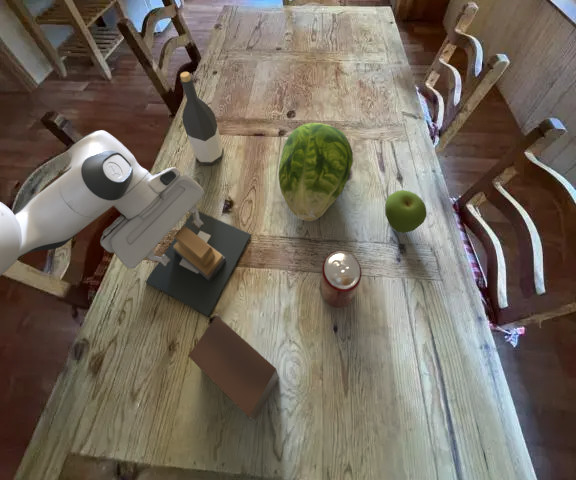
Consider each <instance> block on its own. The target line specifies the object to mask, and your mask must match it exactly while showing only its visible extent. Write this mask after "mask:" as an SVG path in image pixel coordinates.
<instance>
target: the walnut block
mask: <svg viewBox="0 0 576 480" xmlns="http://www.w3.org/2000/svg"><path fill="white" fill-rule="evenodd" d="M187 356H188V358H189V359H190V360H191V361H193V362H194V363H195V365H196V366H197V367H198V368H199V369H200V370H202V372H203V373H204V374H205V375H206V376H207V377H208V378H209V379H210V380H211V381H212V382H213V383H214V384H215V385H216V386H217V388H219V389H220V390H221V391H222V392H223V393H224V394H225V395H226V396H227V397H228V398H229V399H230V400H231V401H232V402H233V403H234V404H235V405H236V406H237V407H238V409H240V410H241V411H242V412H243V413H244V414H245V416H247V417H248V418H249V419H252V420H253V421H256V422H257V420H258V419H259V416H260V414H261V413H262V411H263V409H264V407H265V405H266V403H268V400H269V398H270V396H271V395H272V393H273V391H274V389H275V387H276V386H277V384H278V382H279V380H280V375H279V373H278V369H277V368H276V367H275V365H273V364H272V363H270V361H268V359H266V358H265V357H264V356H263V355H262V354H261V353H260V352H258V351H257V350H256V349H255V348H254V347H253V346H251V345H250V343H248V341H246V340H245V339H244V338H243V337H242V336H240V334H238V333H237V332H236V331H235V330H234V329H233V328H232V327H231V326H229V325H228V324H227V323H226V322H225V321H224V320H223V319H221V318H220V317H219V316H218V315H216V316H215V318H214V319H213V320H212V322H211V323H210V325H209V326H208V327H207V328H206V330H205V331H204V333H203V334H202V336H201V337H200V338H199V339H198V341H197V342H196V344H195V345H194V347H193V348H192V349H191V351H190V352H189V354H188V355H187Z"/></svg>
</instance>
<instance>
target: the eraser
mask: <svg viewBox="0 0 576 480" xmlns="http://www.w3.org/2000/svg"><path fill="white" fill-rule="evenodd" d="M175 238H176V240H177V243H176V244H175V245H174V246H173V247H174V248H173V250H174V251H175V252H176V253H177V254H178V255H179V256H180V257H182V258H183V259H184V260H185V261H186V262H187V263H189V264H190V265H191V266H192V267H193V268H194V269H196V270H197V271H198V272H199V273H200V274H201V275H203V276H204V277H205V278H206V279H207V280H208V281H211V279H212V278H213V277H214V275H215V274H216V273H217V272H218V270H219V269H220V268H221V267H222V265H223V264H224V263H225V261H226V259H225V257H224V256H222V255H221V254H220V253H219V252H217V251H216V250H215V249H214V248H212V247H211V246H210V245H209V244H207V243H206V242H205V241H204V240H202V239H201V238H200V237H199V236H197V235H196V234H195V233H194V232H192V231H191V230H190V229H188V228H187V227H185V226H183V225H182V227H181V228H180V229H179V230H178V231H177V232H176V234H174V239H175Z"/></svg>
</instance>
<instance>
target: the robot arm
mask: <svg viewBox="0 0 576 480" xmlns="http://www.w3.org/2000/svg"><path fill="white" fill-rule="evenodd" d="M67 154H68V156H69V158H70V163H69V166H68V167H67V169H66V171H65V172H64V173H63V174H62V175H61V176H59V177H58V178H57V179H56V180H54V181H53V182H52V183H50V184H49V185H48V186H46V187H45V188H44V189H42V190H41V191H40V192H39V193H37V194H35V195H34V196H32V197H31V198H29V199H28V200H27V201H25V202H24V203H23V204H21V206H20V207H19V208H18V209H17V210H16V211H15V213H14V212H13V211H12V209H10V208H9V207H8V206H7V205H6V204H4V203H3V202H1V201H0V277H1V276H2V275H3V274H5V273H6V272H7V271H8V270H9V269H10V268H11V267H12V266H14V265H15V263H16V262H17V261H18V259H19V258H21V257H23V256H25V255H26V254H30V253H33V252H39V251H40V252H41V251H50V250H55V249H58V248H61V247H63V246H65V245H66V244H67V243H69V242H70V241H71V240H72V239H73V238H75V236H77V235H78V234H79V233H80V232H81V231H82V230H83V229H85V228H87V227H88V225H90V224H91V223H93V222H94V221H95V220H97V219H98V218H99V217H100V216H102V215H103V214H104V213H106V212H107V211H108V210H110V209H111V208H112V207H114V208H115V209H116V210H117V211H118V212H119V213H120V215H119V216H118V217H117V218H116V219H115V220H114V221H113V222H112V223H111V224H110V225H109V226H107V227H106V228H105V229H104V230H103V232H102V235H101V237H100V241H99V243H100V246H101V247H102V248H103V249H104V250H105V251H106V252H107V253H110V254H113V253H114V254H115V256H116V257H117V258H118V260H119V261H120V262H121V263H122V264H123V265H124V267H126V268H127V269H128V270H129V269H130V270H132V269H133V270H134V269H136V268H137V267H138V265H140V264H141V262H142V261H144V259H145V258H146V259H147V260H149V261H154V262H159V261H160V262H161V264H163V265H164V266H166V265H167V264H168V263H169V262H170V261H171V260H170V259H169V258H168V257H167V256H166V255H164V254H165V253H162V254H161V256H157V255H156V253H155V252H154V251H153V250H154V249H155V248H156V247H157V246H158V245H159V244H160V243H161V242H162V240H164V238H165V237H166V236H168V234H169V233H170V232H171V231H172V230H173V229H174V228H175V227H176V226H177V225H178V224H179V223H180V222H181V220H183V218H184V217H185V216H186V215H187V214H188V213H189V214H191V213H193V217H194V221H193V222H192V224H193V225H195V227H196V228H197V229H199V228H200V227H201V226H202V225H203V224H204V223H203V222H202V221H201V220H200V219H199V212H198V211H199V208H198V207H197V204H198V202H199V201H200V200H202V198H203V197H204V195H205V192H204V188H203V187H202V186H201V185H200V184H199V183H198V182H197V181H196V180H195V179H194V178H192V177H191V176H189V175H187V174H181V171H180V169H178V167H175V166H171V167H168V168H166V169H163V170H161V171H157V172H156V173H155V174H151V173H150V172H149V170H147V169H146V168H144V167H143V166H141V165H140V164H139V162H138V161H137V159H136V157H135V156H134V154H133V153H132V152H131V151H130V150H129V149H128V148H127V147H126V146H125V145H124V144H123V143H122V142H121V141H119V139H117V138H116V137H115V136H113V135H112V134H111V133H109V132H107V131H106V130H103V129H101V130H95V131H92V132H90V133H88V134H87V135H85V136H82V137H81V138H80V139H78V140H77V141H75V142H74V143H73V144H72V145H71V146H70V147H69V149H68V151H67Z"/></svg>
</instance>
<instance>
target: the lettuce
mask: <svg viewBox="0 0 576 480" xmlns="http://www.w3.org/2000/svg"><path fill="white" fill-rule="evenodd" d="M280 156H281V157H280V160H279V166H278V182H279V187H280V191H281V195H282V196H283V199H284V200H285V203H286V204H287V207H288V209H289V210H290V212H291V213H292V214H293V215H294V216H295V217H296V218H297V219H299V220H302V221H307V222H309V221H311V222H312V221H316V220H318V219H319V218H321V217H322V216H323V215H324V214H325V213H326V212H327V210H328V209H329V208H330V206H331V205H332V204H333V203H334V202H335V201H336V200H337V199H338V198H339V196H340V195H341V194H342V192H343V191H344V188H345V186H346V184H347V181H348V179H349V176H350V172H351V169H352V166H353V163H354V154H353V149H352V146H351V143H350V142H349V139H348V138H347V136H346V134H345V132H344V131H342V130H341V129H338V128H337V127H335V126H332V125H330V124H326V123H322V122H308V123H304V124H302V125H299V126H297V127H296V128H294V129H293V130H292V131H291V133H290V134H289V135H288V137H287V139H286V140H285V142H284V145H283V147H282V151H281V155H280Z"/></svg>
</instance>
